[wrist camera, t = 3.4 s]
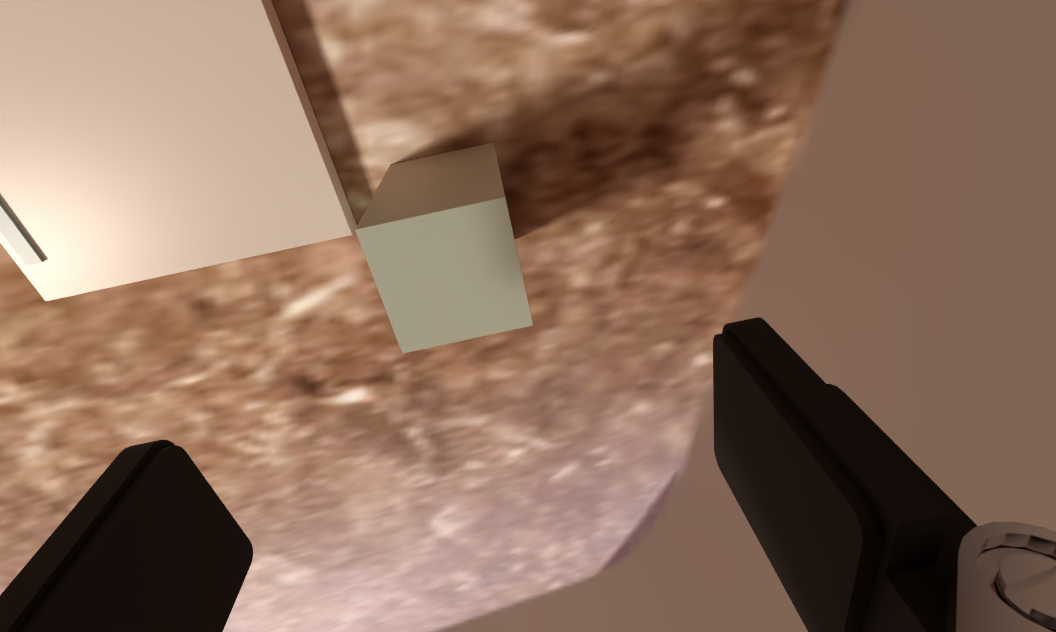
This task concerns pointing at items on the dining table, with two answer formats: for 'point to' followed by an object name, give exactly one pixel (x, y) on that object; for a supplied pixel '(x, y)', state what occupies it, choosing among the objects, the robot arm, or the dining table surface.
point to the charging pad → (155, 141)
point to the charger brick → (444, 249)
